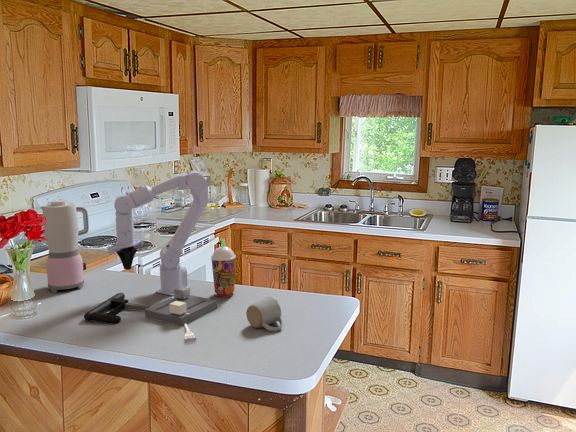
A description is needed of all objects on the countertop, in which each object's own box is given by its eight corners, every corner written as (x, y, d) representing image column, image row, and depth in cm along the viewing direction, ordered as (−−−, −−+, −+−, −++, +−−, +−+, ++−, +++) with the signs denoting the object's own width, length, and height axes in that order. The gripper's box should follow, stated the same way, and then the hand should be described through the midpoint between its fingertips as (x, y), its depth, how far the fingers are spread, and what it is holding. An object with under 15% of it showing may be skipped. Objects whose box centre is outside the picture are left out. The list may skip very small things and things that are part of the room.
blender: (51, 295, 181) (42, 205, 175) (44, 286, 191) (36, 200, 185) (97, 286, 190) (90, 200, 184) (89, 278, 200) (82, 196, 194)
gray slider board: (181, 300, 175) (181, 292, 175) (217, 307, 168) (217, 300, 167) (145, 316, 161) (144, 309, 160) (182, 326, 153) (181, 317, 153)
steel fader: (180, 294, 172) (180, 286, 172) (190, 296, 170) (189, 288, 170) (174, 297, 170) (174, 289, 169) (184, 299, 168) (183, 290, 167)
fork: (187, 318, 161) (187, 312, 161) (198, 342, 143) (197, 336, 142) (177, 319, 160) (176, 314, 160) (186, 344, 142) (185, 338, 141)
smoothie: (221, 300, 175) (219, 242, 171) (207, 294, 181) (205, 238, 177) (241, 294, 180) (240, 238, 176) (227, 289, 186) (226, 234, 182)
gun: (158, 297, 172) (114, 290, 176) (126, 319, 153) (78, 312, 157) (158, 306, 173) (114, 300, 177) (126, 330, 154) (78, 322, 157)
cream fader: (176, 309, 159) (176, 300, 158) (186, 311, 157) (186, 302, 156) (169, 312, 156) (169, 303, 156) (180, 314, 154) (179, 306, 154)
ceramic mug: (244, 325, 154) (244, 300, 152) (264, 317, 159) (264, 293, 158) (269, 336, 146) (269, 310, 145) (289, 327, 152) (289, 302, 151)
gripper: (132, 225, 184) (134, 262, 187) (100, 233, 172) (102, 272, 174) (147, 227, 181) (149, 264, 184) (115, 235, 169) (117, 275, 171)
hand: (127, 269), depth 179 cm, fingers closed
